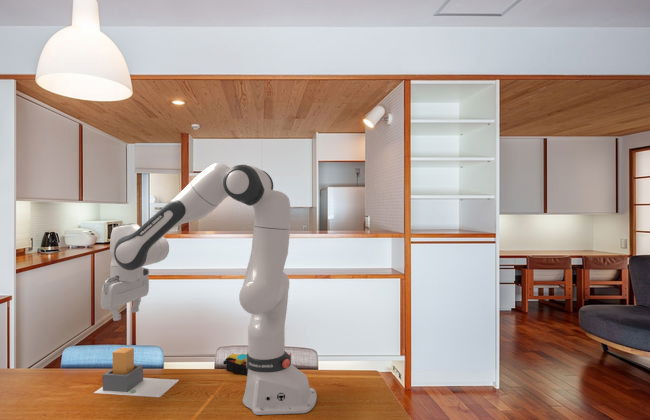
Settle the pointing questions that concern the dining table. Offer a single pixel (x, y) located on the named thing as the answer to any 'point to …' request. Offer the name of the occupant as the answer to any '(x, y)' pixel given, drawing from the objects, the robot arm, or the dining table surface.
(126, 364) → the orange rectangular block
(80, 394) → the dining table surface
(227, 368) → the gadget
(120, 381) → the breaker panel
